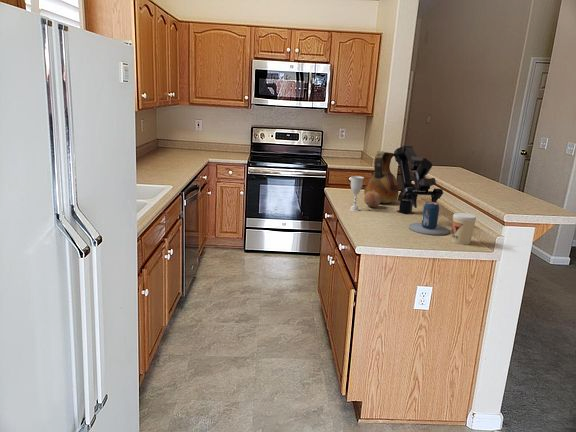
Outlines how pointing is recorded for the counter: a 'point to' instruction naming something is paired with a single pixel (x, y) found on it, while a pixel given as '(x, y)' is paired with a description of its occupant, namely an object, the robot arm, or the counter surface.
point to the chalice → (356, 189)
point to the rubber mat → (437, 231)
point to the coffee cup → (462, 228)
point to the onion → (372, 198)
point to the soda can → (430, 215)
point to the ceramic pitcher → (383, 178)
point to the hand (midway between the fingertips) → (425, 207)
